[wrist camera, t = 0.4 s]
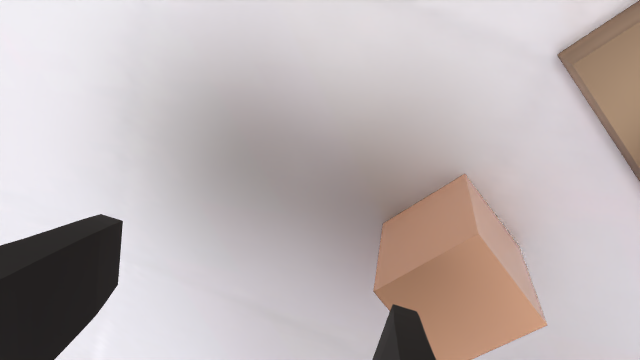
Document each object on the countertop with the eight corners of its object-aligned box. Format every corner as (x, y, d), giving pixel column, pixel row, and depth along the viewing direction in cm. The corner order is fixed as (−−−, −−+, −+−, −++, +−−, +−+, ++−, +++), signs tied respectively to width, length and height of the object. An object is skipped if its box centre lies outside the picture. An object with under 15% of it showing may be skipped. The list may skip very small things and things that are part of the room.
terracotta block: (519, 247, 21) (547, 325, 16) (437, 290, 22) (441, 373, 18) (464, 173, 20) (478, 233, 16) (383, 223, 22) (373, 291, 17)
